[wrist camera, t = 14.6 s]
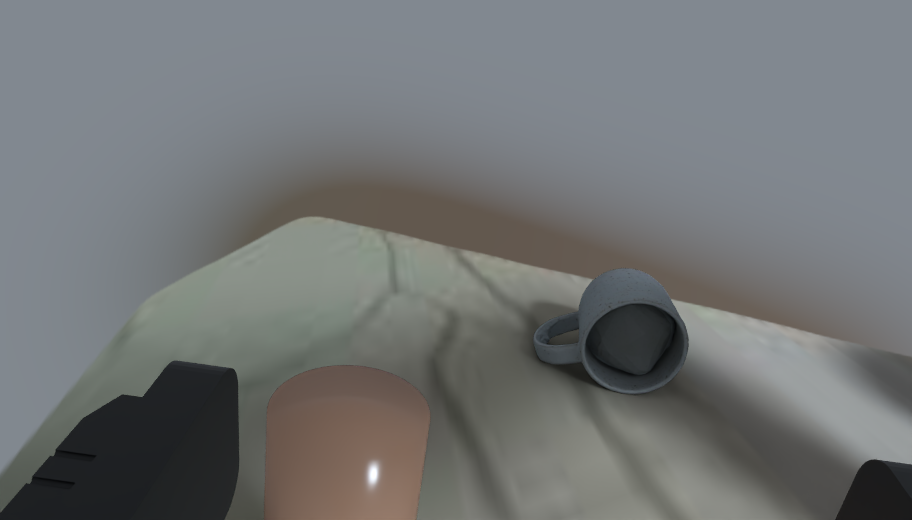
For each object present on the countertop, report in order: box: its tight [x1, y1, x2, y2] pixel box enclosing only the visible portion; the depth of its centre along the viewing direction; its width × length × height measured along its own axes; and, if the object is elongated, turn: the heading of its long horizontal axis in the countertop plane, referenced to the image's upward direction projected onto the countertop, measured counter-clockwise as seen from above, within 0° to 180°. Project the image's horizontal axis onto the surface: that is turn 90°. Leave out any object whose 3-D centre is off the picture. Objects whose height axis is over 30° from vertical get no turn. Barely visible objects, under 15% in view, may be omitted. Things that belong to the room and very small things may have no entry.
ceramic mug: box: [533, 268, 689, 394], centre depth 55 cm, size 11×8×8 cm
